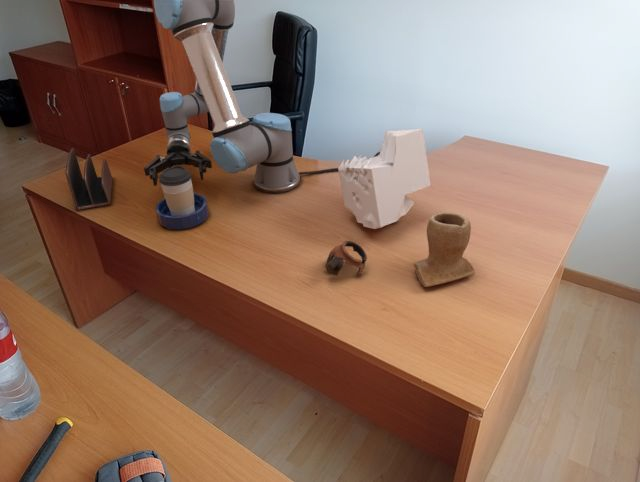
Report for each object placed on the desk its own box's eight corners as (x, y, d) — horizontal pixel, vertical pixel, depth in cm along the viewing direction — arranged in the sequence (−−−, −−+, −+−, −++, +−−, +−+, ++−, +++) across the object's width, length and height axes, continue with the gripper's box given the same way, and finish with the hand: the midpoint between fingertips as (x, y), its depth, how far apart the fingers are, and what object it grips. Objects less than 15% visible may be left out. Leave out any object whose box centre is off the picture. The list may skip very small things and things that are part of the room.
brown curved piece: (333, 255, 129) (349, 233, 125) (359, 279, 127) (376, 258, 123) (309, 269, 120) (326, 246, 115) (337, 296, 118) (354, 273, 113)
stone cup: (453, 252, 128) (461, 202, 120) (479, 278, 119) (490, 227, 110) (401, 264, 124) (405, 214, 116) (424, 293, 115) (431, 241, 107)
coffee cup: (191, 224, 142) (181, 179, 133) (162, 222, 144) (151, 176, 135) (203, 209, 149) (195, 164, 141) (176, 206, 151) (166, 162, 142)
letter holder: (76, 211, 152) (62, 170, 144) (82, 183, 167) (69, 144, 159) (110, 205, 154) (97, 164, 146) (112, 178, 170) (101, 140, 162)
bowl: (211, 204, 153) (209, 191, 150) (204, 229, 141) (202, 216, 138) (165, 206, 152) (162, 193, 150) (154, 232, 140) (150, 218, 138)
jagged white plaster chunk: (379, 239, 129) (362, 146, 122) (346, 231, 143) (329, 147, 135) (435, 217, 138) (423, 129, 131) (399, 211, 152) (386, 131, 144)
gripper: (218, 156, 166) (222, 184, 149) (142, 165, 162) (137, 195, 144) (215, 135, 162) (218, 162, 144) (137, 144, 157) (131, 172, 140)
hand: (178, 178), depth 144 cm, fingers open, 13 cm apart
